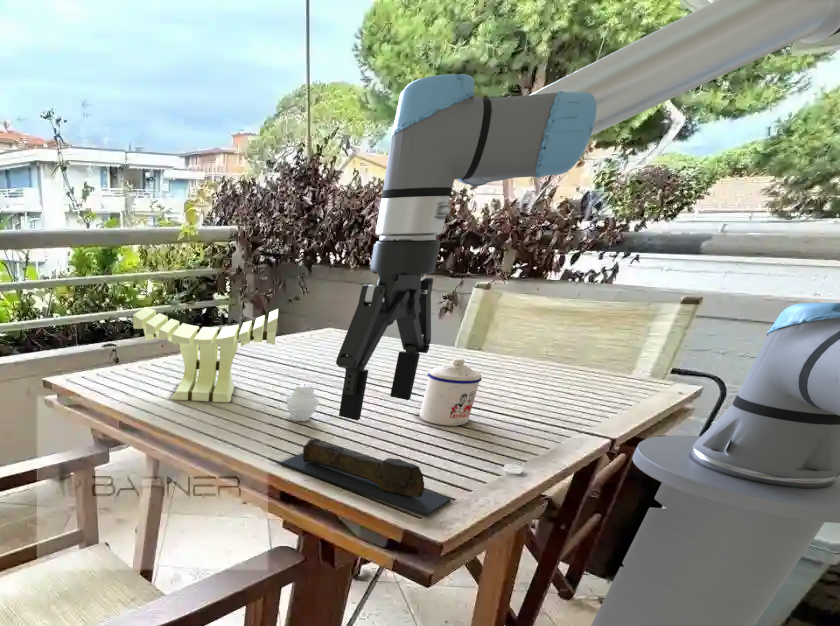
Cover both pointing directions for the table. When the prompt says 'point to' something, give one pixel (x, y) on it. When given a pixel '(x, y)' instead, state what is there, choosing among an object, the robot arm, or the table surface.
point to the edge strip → (369, 487)
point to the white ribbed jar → (302, 403)
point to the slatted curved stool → (205, 351)
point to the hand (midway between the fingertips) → (375, 407)
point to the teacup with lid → (450, 394)
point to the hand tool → (368, 468)
